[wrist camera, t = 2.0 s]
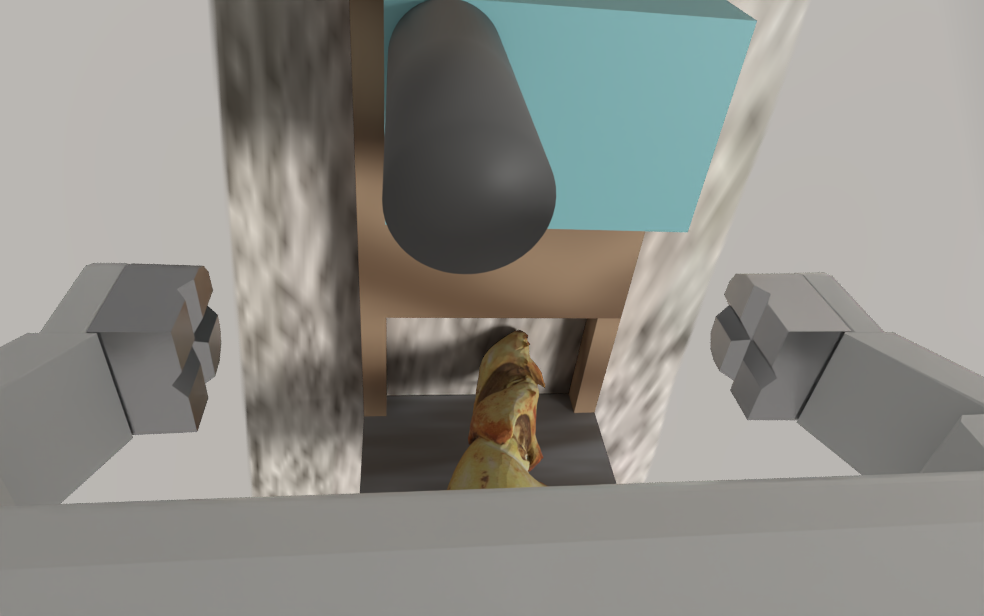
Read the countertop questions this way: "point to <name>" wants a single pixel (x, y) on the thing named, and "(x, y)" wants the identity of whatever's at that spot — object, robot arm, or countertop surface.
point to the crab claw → (503, 420)
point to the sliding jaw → (549, 119)
